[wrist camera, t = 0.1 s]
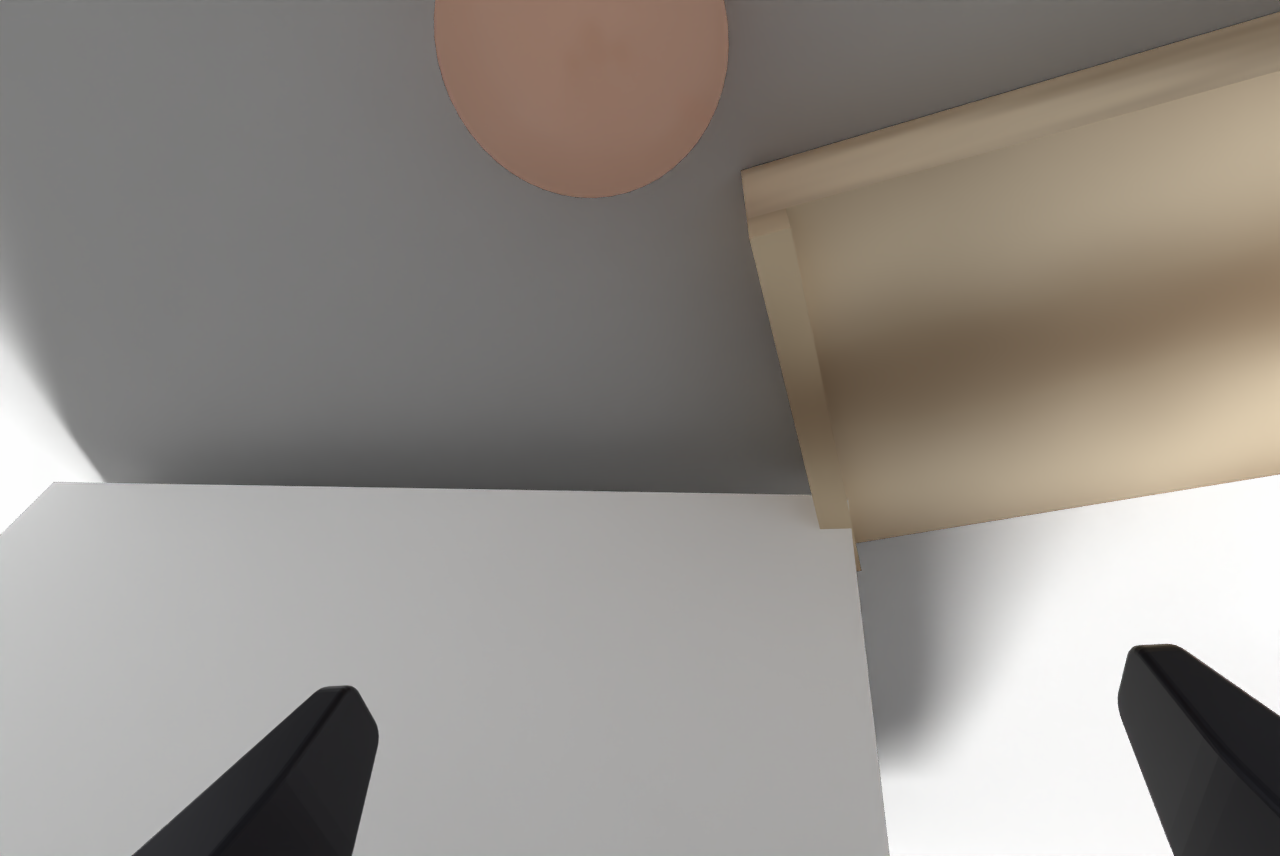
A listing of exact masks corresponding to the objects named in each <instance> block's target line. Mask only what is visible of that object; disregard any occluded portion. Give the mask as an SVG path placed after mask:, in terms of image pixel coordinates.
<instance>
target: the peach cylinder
mask: <svg viewBox="0 0 1280 856" xmlns="http://www.w3.org/2000/svg"><path fill="white" fill-rule="evenodd" d="M434 38H435V45H436V52H437V59H438V63H439V67H440V71H441V75H442V78H443V81H444V84H445V87H446V89H447V92H448V95H449V97H450V100H451V102H452V103H453V105H454V107H455V109H456V111H457V113H458V115H459V117H460V119H461V120H462V122H463V123H464V125H465V126H466V128H467V129H468V131H469V132H470V134H471V135H472V136H473V137H474V139H475V140H476V141H477V142H478V143H479V145H480V146H481V147H482V148H483V149H484V150H485V151H486V152H487V153H488V154H489V155H490V156H491V157H492V158H493V159H494V160H495V161H496V162H497V163H499V164H500V165H501V166H503V167H504V168H505V169H507V170H508V171H509V172H511V173H512V174H514V175H515V176H517V177H519V178H521V179H522V180H524V181H526V182H527V183H530V184H532V185H534V186H536V187H539V188H541V189H543V190H547V191H550V192H553V193H557V194H560V195H566V196H572V197H581V198H599V197H610V196H615V195H619V194H624V193H628V192H631V191H633V190H636V189H639V188H641V187H644V186H646V185H648V184H649V183H651V182H653V181H655V180H657V179H659V178H660V177H662V176H663V175H664V174H666V173H667V172H669V171H670V170H671V169H673V168H674V167H675V166H676V165H677V164H678V163H679V162H680V161H681V160H682V159H683V158H685V157H686V156H687V154H688V153H689V152H690V151H691V150H692V148H693V147H694V146H695V145H696V144H697V142H698V141H699V139H700V138H701V136H702V135H703V133H704V131H705V130H706V128H707V127H708V125H709V123H710V121H711V119H712V117H713V114H714V112H715V110H716V108H717V105H718V102H719V99H720V96H721V93H722V90H723V86H724V81H725V76H726V71H727V64H728V51H729V37H728V21H727V15H726V8H725V2H724V0H435V10H434Z"/></svg>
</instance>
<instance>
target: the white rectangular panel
mask: <svg viewBox="0 0 1280 856" xmlns="http://www.w3.org/2000/svg"><path fill="white" fill-rule="evenodd" d="M847 503H848V500H847ZM848 508H849V504H848ZM342 685H350V686H353V687H354V688H356V689H357V690H358V692H359V693H360V695H361V697H362V698H363V700H364V702H365V704H366V706H367V707H368V709H369V711H370V713H371V714H372V716H373V718H374V720H375V721H376V724H377V726H378V731H379V743H378V748H377V752H376V757H375V761H374V765H373V769H372V774H371V778H370V782H369V786H368V791H367V795H366V799H365V803H364V808H363V812H362V816H361V820H360V825H359V829H358V833H357V837H356V842H355V846H354V850H353V854H352V856H890V854H889V846H888V837H887V829H886V820H885V812H884V803H883V795H882V786H881V777H880V769H879V760H878V752H877V743H876V735H875V726H874V718H873V709H872V701H871V692H870V683H869V675H868V666H867V658H866V649H865V641H864V632H863V624H862V615H861V607H860V598H859V589H858V581H857V572H856V564H855V555H854V547H853V538H852V530H851V528H847V529H820V527H819V523H818V519H817V515H816V511H815V506H814V502H813V498H812V495H789V494H730V493H671V492H612V491H554V490H495V489H436V488H377V487H318V486H259V485H200V484H141V483H82V482H53V483H52V484H51V485H50V486H49V487H48V488H47V489H46V490H45V491H44V492H43V493H42V494H41V495H40V496H39V497H38V498H37V499H36V500H35V501H34V502H33V503H32V504H31V505H30V506H29V507H28V508H27V509H26V510H25V511H24V512H23V513H22V514H21V515H20V516H19V517H18V518H17V519H16V520H15V521H14V522H13V523H12V524H11V525H10V526H9V527H8V528H7V529H6V530H5V531H4V532H3V533H2V534H1V535H0V856H132V855H133V854H134V853H135V852H136V851H137V850H138V849H139V848H141V847H142V846H143V845H144V844H145V843H146V842H147V841H148V840H150V839H151V838H152V837H153V836H154V835H155V834H156V833H157V832H159V831H160V830H161V829H162V828H163V827H164V826H165V825H166V824H168V823H169V822H170V821H171V820H172V819H173V818H174V817H175V816H176V815H178V814H179V813H180V812H181V811H182V810H183V809H184V808H185V807H187V806H188V805H189V804H190V803H191V802H192V801H193V800H194V799H196V798H197V797H198V796H199V795H200V794H201V793H202V792H203V791H204V790H206V789H207V788H208V787H209V786H210V785H211V784H212V783H213V782H215V781H216V780H217V779H218V778H219V777H220V776H221V775H222V774H224V773H225V772H226V771H227V770H228V769H229V768H230V767H231V766H233V765H234V764H235V763H236V762H237V761H238V760H239V759H240V758H241V757H243V756H244V755H245V754H246V753H247V752H248V751H249V750H250V749H252V748H253V747H254V746H255V745H256V744H257V743H258V742H259V741H261V740H262V739H263V738H264V737H265V736H266V735H267V734H268V733H269V732H271V731H272V730H273V729H274V728H275V727H276V726H277V725H278V724H280V723H281V722H282V721H283V720H284V719H285V718H286V717H287V716H289V715H290V714H291V713H292V712H293V711H294V710H295V709H296V708H297V707H299V706H300V705H301V704H302V703H303V702H304V701H305V700H306V699H308V698H309V697H310V696H311V695H312V694H313V693H314V692H316V691H317V690H319V689H320V688H323V687H327V686H342Z"/></svg>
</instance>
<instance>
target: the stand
mask: <svg viewBox="0 0 1280 856" xmlns="http://www.w3.org/2000/svg"><path fill="white" fill-rule="evenodd" d="M741 177H742V185H743V193H744V201H745V209H746V217H747V225H748V233H749V240H750V244H751V248H752V252H753V256H754V260H755V264H756V269H757V273H758V277H759V281H760V285H761V289H762V293H763V297H764V301H765V305H766V310H767V314H768V318H769V322H770V326H771V330H772V334H773V338H774V342H775V346H776V351H777V355H778V359H779V363H780V367H781V371H782V375H783V379H784V383H785V387H786V392H787V396H788V400H789V404H790V408H791V412H792V416H793V420H794V424H795V428H796V433H797V437H798V441H799V445H800V449H801V453H802V457H803V461H804V465H805V469H806V474H807V478H808V482H809V486H810V490H811V494H812V498H813V502H814V506H815V511H816V515H817V519H818V523H819V527H820V529H847V528H851V530H852V538H853V547H854V555H855V564H856V571H861V566H860V561H859V556H858V552H857V547H856V543H860V542H866V541H872V540H879V539H885V538H891V537H897V536H903V535H909V534H915V533H922V532H928V531H934V530H940V529H946V528H952V527H958V526H965V525H971V524H977V523H983V522H989V521H995V520H1002V519H1008V518H1014V517H1020V516H1026V515H1032V514H1038V513H1045V512H1051V511H1057V510H1063V509H1069V508H1075V507H1082V506H1088V505H1094V504H1100V503H1106V502H1112V501H1118V500H1125V499H1131V498H1137V497H1143V496H1149V495H1155V494H1161V493H1168V492H1174V491H1180V490H1186V489H1192V488H1198V487H1205V486H1211V485H1217V484H1223V483H1229V482H1235V481H1241V480H1248V479H1254V478H1260V477H1266V476H1272V475H1278V474H1280V12H1277V13H1273V14H1270V15H1267V16H1263V17H1260V18H1257V19H1253V20H1250V21H1246V22H1243V23H1240V24H1236V25H1233V26H1229V27H1226V28H1223V29H1219V30H1216V31H1212V32H1209V33H1206V34H1202V35H1199V36H1196V37H1192V38H1189V39H1185V40H1182V41H1179V42H1175V43H1172V44H1168V45H1165V46H1162V47H1158V48H1155V49H1152V50H1148V51H1145V52H1141V53H1138V54H1135V55H1131V56H1128V57H1124V58H1121V59H1118V60H1114V61H1111V62H1107V63H1104V64H1101V65H1097V66H1094V67H1091V68H1087V69H1084V70H1080V71H1077V72H1074V73H1070V74H1067V75H1063V76H1060V77H1057V78H1053V79H1050V80H1046V81H1043V82H1040V83H1036V84H1033V85H1030V86H1026V87H1023V88H1019V89H1016V90H1013V91H1009V92H1006V93H1002V94H999V95H996V96H992V97H989V98H985V99H982V100H979V101H975V102H972V103H969V104H965V105H962V106H958V107H955V108H952V109H948V110H945V111H941V112H938V113H935V114H931V115H928V116H924V117H921V118H918V119H914V120H911V121H908V122H904V123H901V124H897V125H894V126H891V127H887V128H884V129H880V130H877V131H874V132H870V133H867V134H864V135H860V136H857V137H853V138H850V139H847V140H843V141H840V142H836V143H833V144H830V145H826V146H823V147H819V148H816V149H813V150H809V151H806V152H803V153H799V154H796V155H792V156H789V157H786V158H782V159H779V160H775V161H772V162H769V163H765V164H762V165H758V166H755V167H752V168H748V169H745V170H742V171H741ZM847 500H848V503H847ZM848 504H849V508H848Z"/></svg>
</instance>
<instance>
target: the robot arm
mask: <svg viewBox="0 0 1280 856" xmlns="http://www.w3.org/2000/svg"><path fill="white" fill-rule="evenodd" d="M1118 708H1119V712H1120V716H1121V719H1122V722H1123V725H1124V727H1125V730H1126V732H1127V735H1128V738H1129V740H1130V743H1131V746H1132V748H1133V751H1134V753H1135V756H1136V759H1137V761H1138V764H1139V766H1140V769H1141V772H1142V774H1143V777H1144V780H1145V782H1146V785H1147V787H1148V790H1149V793H1150V795H1151V798H1152V800H1153V803H1154V806H1155V808H1156V811H1157V813H1158V816H1159V819H1160V821H1161V824H1162V827H1163V829H1164V832H1165V834H1166V837H1167V840H1168V842H1169V845H1170V847H1171V849H1172V852H1173V854H1174V856H1280V716H1279V715H1278V714H1276V713H1275V712H1273V711H1272V710H1270V709H1269V708H1268V707H1266V706H1265V705H1263V704H1262V703H1260V702H1259V701H1258V700H1256V699H1255V698H1253V697H1252V696H1250V695H1249V694H1248V693H1246V692H1245V691H1243V690H1242V689H1240V688H1239V687H1238V686H1236V685H1235V684H1233V683H1232V682H1230V681H1229V680H1227V679H1226V678H1225V677H1223V676H1222V675H1220V674H1219V673H1217V672H1216V671H1215V670H1213V669H1212V668H1210V667H1209V666H1207V665H1206V664H1205V663H1203V662H1202V661H1200V660H1199V659H1197V658H1196V657H1195V656H1193V655H1192V654H1190V653H1189V652H1187V651H1186V650H1184V649H1183V648H1181V647H1178V646H1176V645H1173V644H1154V645H1138V646H1134V647H1133V648H1132V649H1131V650H1130V651H1129V652H1128V655H1127V659H1126V663H1125V667H1124V671H1123V675H1122V680H1121V684H1120V688H1119V692H1118ZM378 743H379V731H378V726H377V724H376V721H375V720H374V718H373V716H372V714H371V713H370V711H369V709H368V707H367V706H366V704H365V702H364V700H363V698H362V697H361V695H360V693H359V692H358V690H357V689H356V688H354V687H353V686H350V685H342V686H327V687H323V688H320V689H319V690H317V691H316V692H314V693H313V694H312V695H311V696H310V697H309V698H308V699H306V700H305V701H304V702H303V703H302V704H301V705H300V706H299V707H297V708H296V709H295V710H294V711H293V712H292V713H291V714H290V715H289V716H287V717H286V718H285V719H284V720H283V721H282V722H281V723H280V724H278V725H277V726H276V727H275V728H274V729H273V730H272V731H271V732H269V733H268V734H267V735H266V736H265V737H264V738H263V739H262V740H261V741H259V742H258V743H257V744H256V745H255V746H254V747H253V748H252V749H250V750H249V751H248V752H247V753H246V754H245V755H244V756H243V757H241V758H240V759H239V760H238V761H237V762H236V763H235V764H234V765H233V766H231V767H230V768H229V769H228V770H227V771H226V772H225V773H224V774H222V775H221V776H220V777H219V778H218V779H217V780H216V781H215V782H213V783H212V784H211V785H210V786H209V787H208V788H207V789H206V790H204V791H203V792H202V793H201V794H200V795H199V796H198V797H197V798H196V799H194V800H193V801H192V802H191V803H190V804H189V805H188V806H187V807H185V808H184V809H183V810H182V811H181V812H180V813H179V814H178V815H176V816H175V817H174V818H173V819H172V820H171V821H170V822H169V823H168V824H166V825H165V826H164V827H163V828H162V829H161V830H160V831H159V832H157V833H156V834H155V835H154V836H153V837H152V838H151V839H150V840H148V841H147V842H146V843H145V844H144V845H143V846H142V847H141V848H139V849H138V850H137V851H136V852H135V853H134V854H133V855H132V856H352V854H353V850H354V846H355V842H356V837H357V833H358V829H359V825H360V820H361V816H362V812H363V808H364V803H365V799H366V795H367V791H368V786H369V782H370V778H371V774H372V769H373V765H374V761H375V757H376V752H377V748H378Z"/></svg>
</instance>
